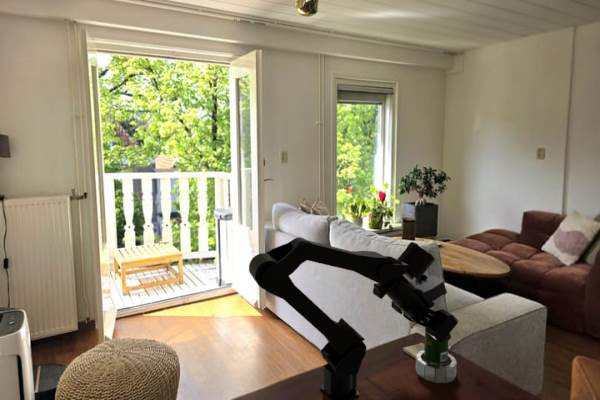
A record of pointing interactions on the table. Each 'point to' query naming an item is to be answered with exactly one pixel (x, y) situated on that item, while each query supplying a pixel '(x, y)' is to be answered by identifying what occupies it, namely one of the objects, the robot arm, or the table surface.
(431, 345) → the beer can
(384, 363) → the table surface
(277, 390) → the table surface
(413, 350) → the cork coaster
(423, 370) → the ring holder
